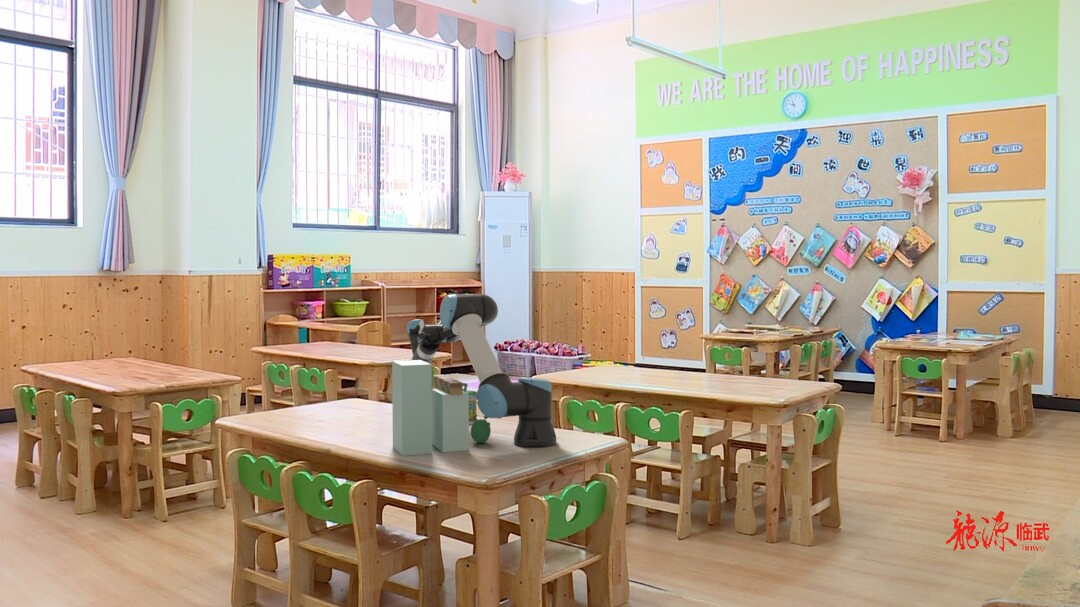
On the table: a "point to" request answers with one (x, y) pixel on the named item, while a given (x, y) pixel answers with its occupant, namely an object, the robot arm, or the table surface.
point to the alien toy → (480, 430)
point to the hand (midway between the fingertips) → (440, 322)
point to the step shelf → (426, 412)
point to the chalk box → (471, 401)
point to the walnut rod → (448, 384)
